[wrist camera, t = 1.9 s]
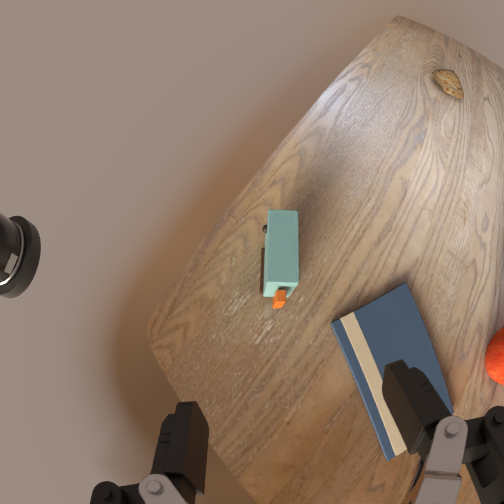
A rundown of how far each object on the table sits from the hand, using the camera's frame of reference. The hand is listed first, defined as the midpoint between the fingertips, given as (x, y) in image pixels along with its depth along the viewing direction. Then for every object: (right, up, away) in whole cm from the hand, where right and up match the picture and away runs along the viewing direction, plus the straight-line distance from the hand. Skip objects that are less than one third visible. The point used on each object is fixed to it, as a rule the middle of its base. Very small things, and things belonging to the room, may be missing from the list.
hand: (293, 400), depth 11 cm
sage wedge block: (+1, +4, +19) cm, 19 cm away
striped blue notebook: (+14, -7, +15) cm, 22 cm away
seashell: (+40, +41, +31) cm, 65 cm away
